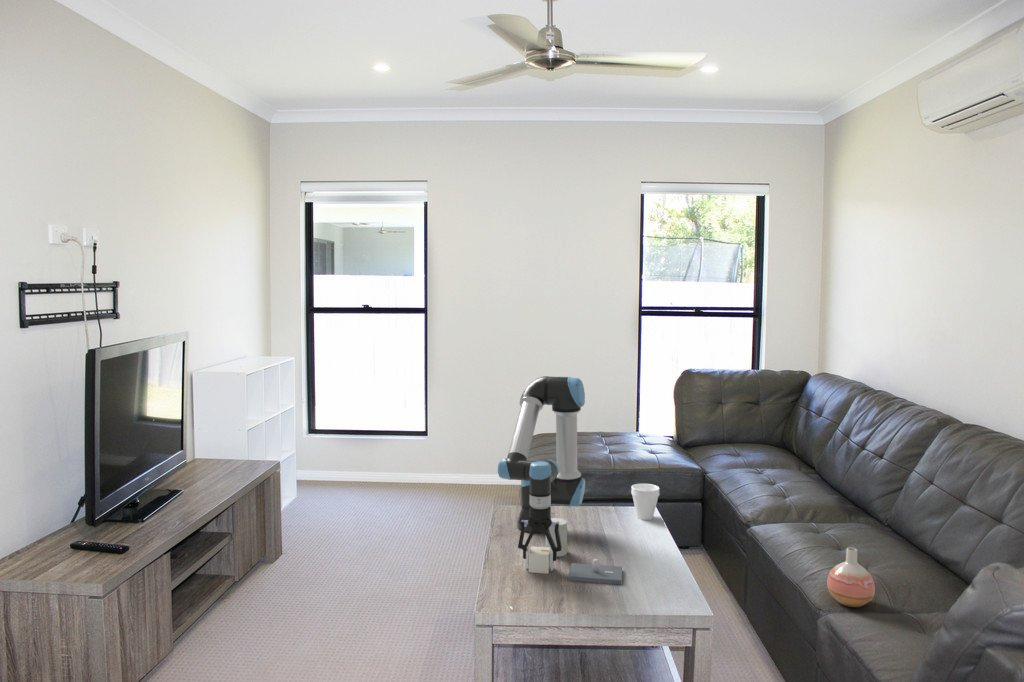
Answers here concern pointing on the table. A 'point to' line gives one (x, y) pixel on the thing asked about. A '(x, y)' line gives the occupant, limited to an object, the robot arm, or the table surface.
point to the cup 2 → (645, 500)
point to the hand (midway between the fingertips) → (539, 568)
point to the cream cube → (539, 559)
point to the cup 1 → (562, 535)
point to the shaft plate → (595, 573)
